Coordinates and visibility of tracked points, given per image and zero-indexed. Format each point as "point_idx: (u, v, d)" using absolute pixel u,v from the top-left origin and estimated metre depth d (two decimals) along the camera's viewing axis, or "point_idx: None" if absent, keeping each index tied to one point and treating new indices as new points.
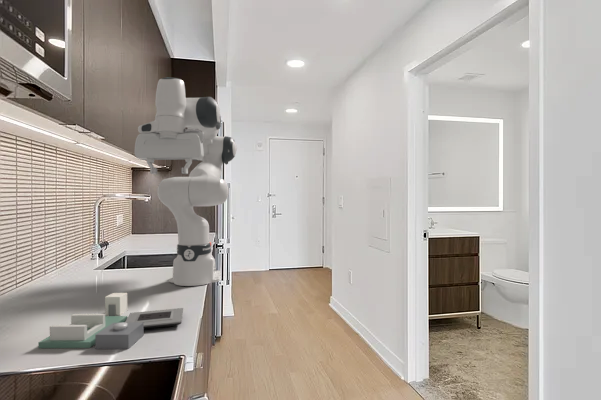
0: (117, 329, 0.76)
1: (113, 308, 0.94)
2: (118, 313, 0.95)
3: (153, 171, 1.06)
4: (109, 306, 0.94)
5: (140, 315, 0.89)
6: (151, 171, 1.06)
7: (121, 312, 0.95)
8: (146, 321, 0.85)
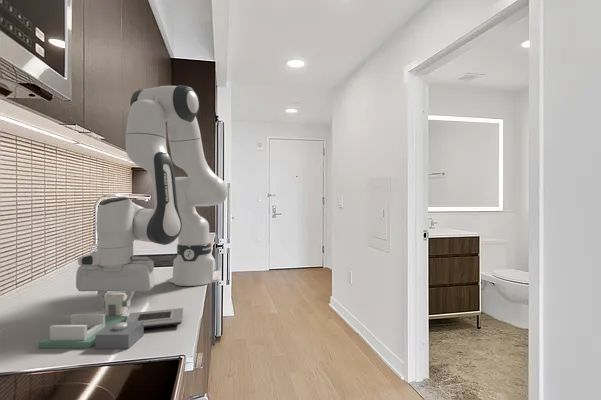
0: (117, 329, 0.76)
1: (113, 308, 0.94)
2: (118, 313, 0.95)
3: None
4: (109, 306, 0.94)
5: (140, 315, 0.89)
6: (103, 305, 0.96)
7: (121, 312, 0.95)
8: (146, 321, 0.85)
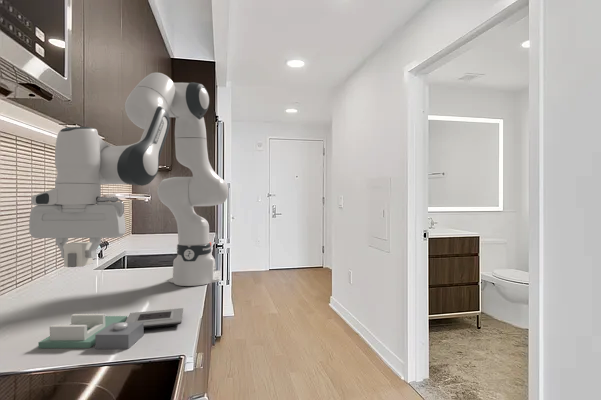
0: (117, 329, 0.76)
1: (73, 257, 0.78)
2: (79, 264, 0.78)
3: None
4: (68, 255, 0.78)
5: (140, 315, 0.89)
6: (62, 255, 0.79)
7: (84, 263, 0.79)
8: (146, 321, 0.85)
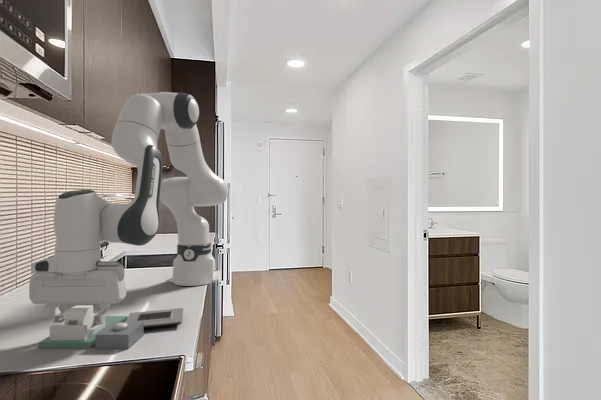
0: (117, 329, 0.76)
1: None
2: None
3: (57, 320, 0.79)
4: (69, 322, 0.77)
5: (140, 315, 0.89)
6: (54, 320, 0.79)
7: None
8: (146, 321, 0.85)
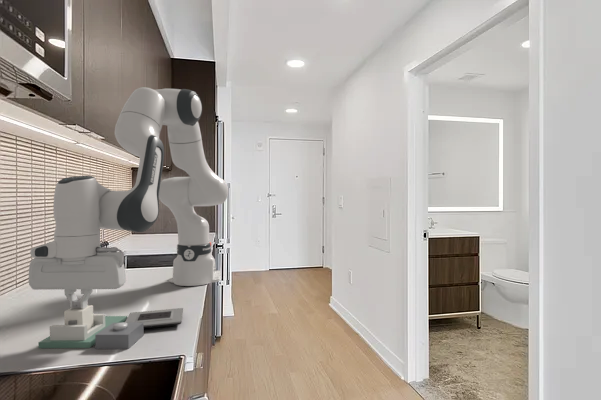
0: (117, 329, 0.76)
1: None
2: None
3: (74, 306, 0.79)
4: (69, 322, 0.77)
5: (140, 315, 0.89)
6: (71, 306, 0.79)
7: None
8: (146, 321, 0.85)
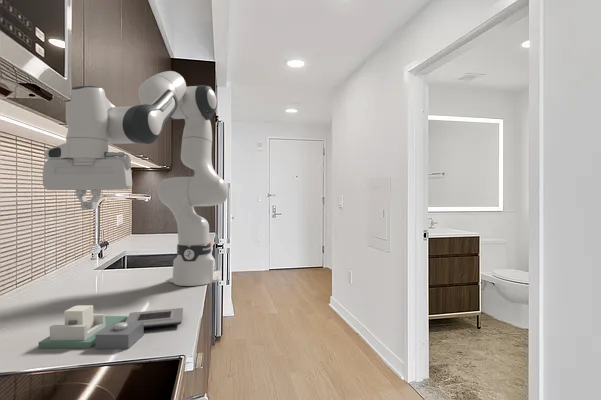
0: (117, 329, 0.76)
1: None
2: None
3: (84, 206, 0.85)
4: (69, 322, 0.77)
5: (140, 315, 0.89)
6: (82, 206, 0.85)
7: None
8: (146, 321, 0.85)
